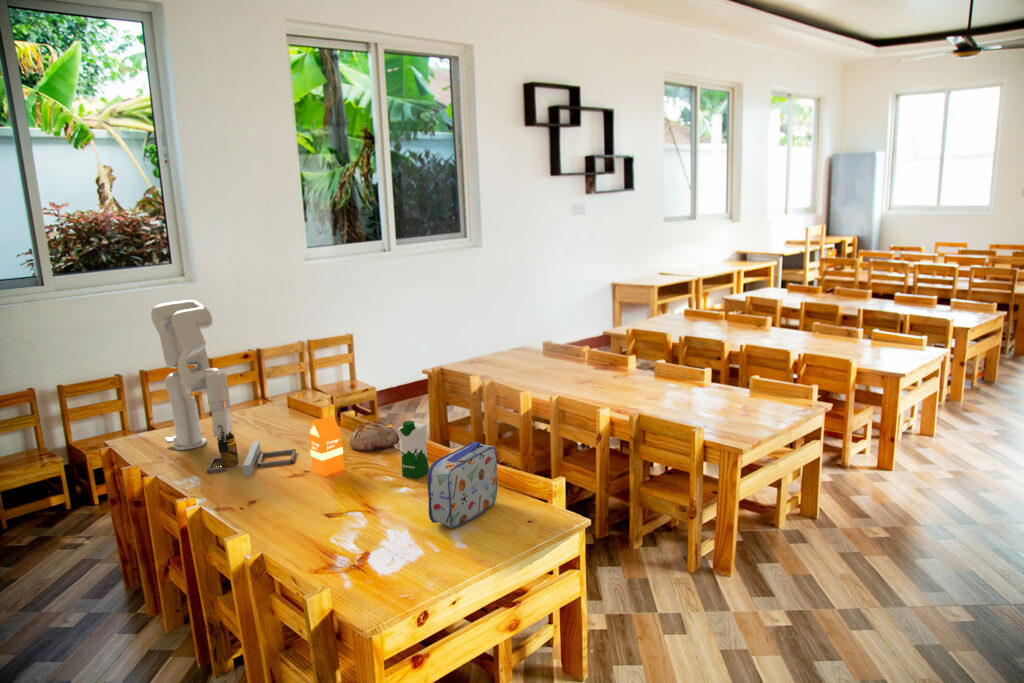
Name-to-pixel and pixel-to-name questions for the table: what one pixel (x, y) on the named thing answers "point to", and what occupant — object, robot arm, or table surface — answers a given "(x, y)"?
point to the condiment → (230, 454)
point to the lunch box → (462, 484)
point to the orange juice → (326, 446)
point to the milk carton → (413, 449)
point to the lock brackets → (260, 463)
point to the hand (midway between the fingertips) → (226, 447)
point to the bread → (373, 437)
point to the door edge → (251, 458)
